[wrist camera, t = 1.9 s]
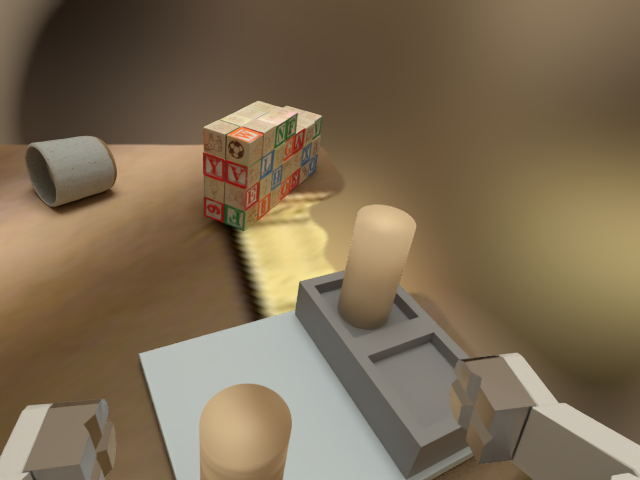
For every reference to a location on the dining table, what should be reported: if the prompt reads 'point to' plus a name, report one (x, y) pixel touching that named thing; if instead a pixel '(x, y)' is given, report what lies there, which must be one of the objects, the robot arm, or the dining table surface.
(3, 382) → the dining table surface
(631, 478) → the robot arm
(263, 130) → the stack of blocks
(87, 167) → the ceramic mug
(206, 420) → the beech post
